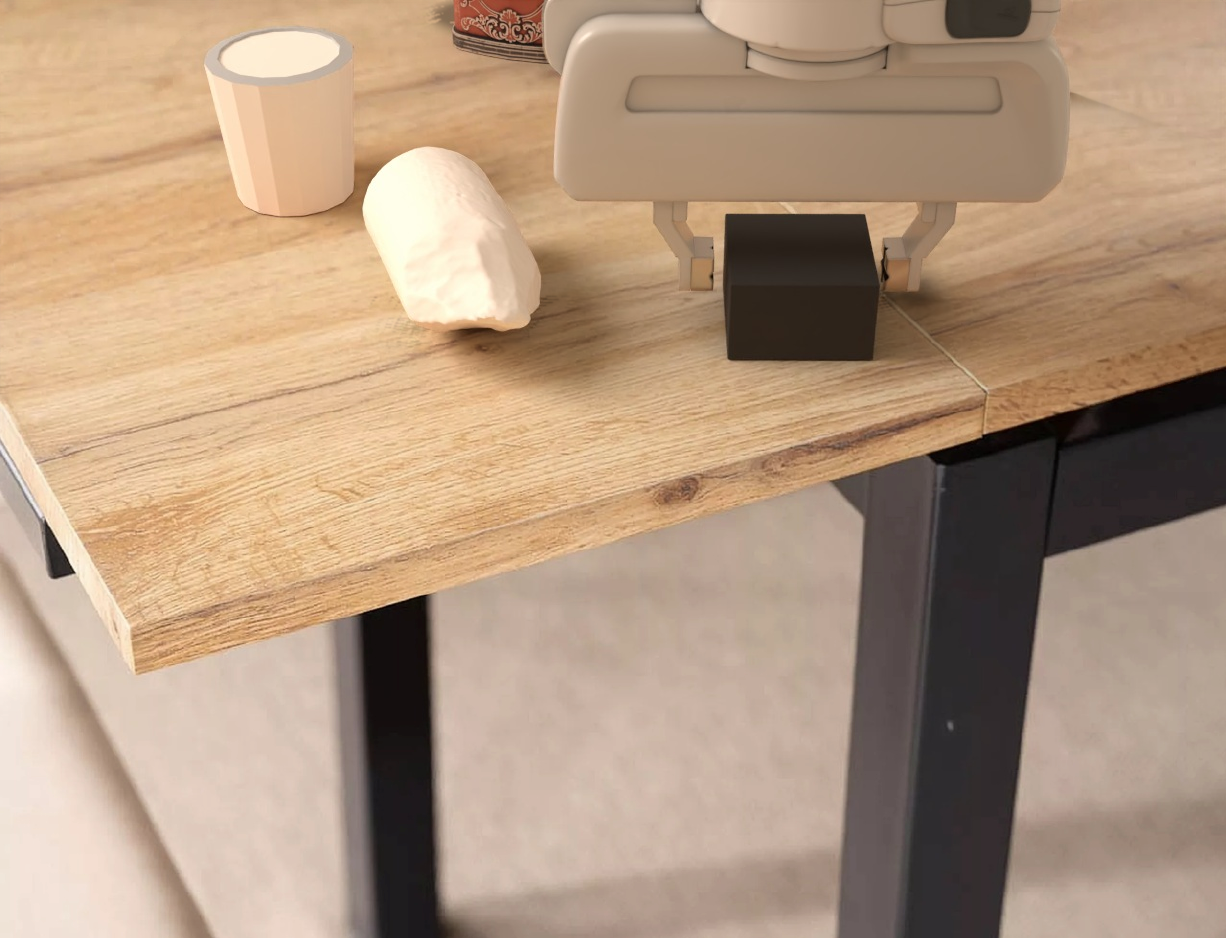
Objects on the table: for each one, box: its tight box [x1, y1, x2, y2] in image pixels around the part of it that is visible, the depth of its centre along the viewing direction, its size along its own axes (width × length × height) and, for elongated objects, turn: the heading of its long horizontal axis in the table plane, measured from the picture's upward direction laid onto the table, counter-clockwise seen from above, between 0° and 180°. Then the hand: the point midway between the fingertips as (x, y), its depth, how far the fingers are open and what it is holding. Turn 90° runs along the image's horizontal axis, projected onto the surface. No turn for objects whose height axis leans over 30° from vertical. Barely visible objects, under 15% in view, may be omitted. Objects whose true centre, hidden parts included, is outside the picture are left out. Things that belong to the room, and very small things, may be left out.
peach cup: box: [203, 25, 355, 217], centre depth 82 cm, size 7×7×7 cm
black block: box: [722, 213, 881, 361], centre depth 73 cm, size 6×6×4 cm
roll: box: [361, 146, 542, 333], centre depth 73 cm, size 6×12×6 cm, turn 18°
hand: (796, 284), depth 73 cm, fingers open, 7 cm apart
